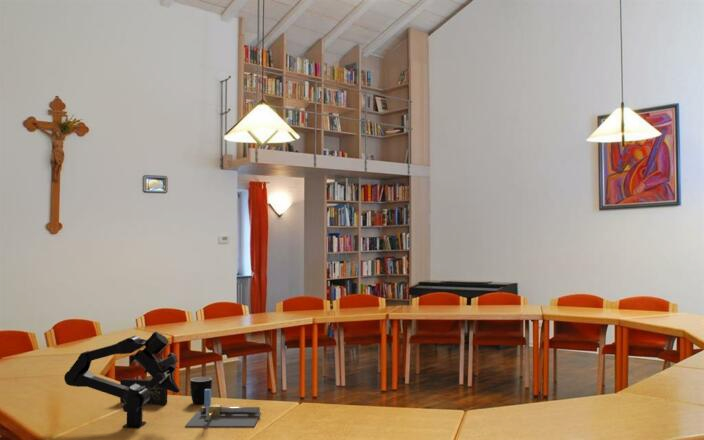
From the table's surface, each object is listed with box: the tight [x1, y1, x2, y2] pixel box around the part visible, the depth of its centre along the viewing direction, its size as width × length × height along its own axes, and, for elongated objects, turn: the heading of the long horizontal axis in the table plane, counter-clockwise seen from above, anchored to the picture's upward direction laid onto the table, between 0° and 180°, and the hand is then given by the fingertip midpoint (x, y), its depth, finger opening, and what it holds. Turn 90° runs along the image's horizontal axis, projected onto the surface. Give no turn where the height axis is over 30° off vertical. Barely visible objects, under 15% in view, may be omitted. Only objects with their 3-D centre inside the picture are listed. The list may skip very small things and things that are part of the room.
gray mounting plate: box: [184, 411, 262, 429], centre depth 241 cm, size 26×18×1 cm
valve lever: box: [203, 388, 212, 422], centre depth 234 cm, size 2×2×12 cm
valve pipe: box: [199, 403, 261, 417], centre depth 241 cm, size 23×12×4 cm, turn 90°
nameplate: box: [119, 378, 168, 406], centre depth 265 cm, size 21×2×10 cm, turn 79°
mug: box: [189, 376, 213, 406], centre depth 265 cm, size 12×9×10 cm
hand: (178, 391), depth 234 cm, fingers closed
